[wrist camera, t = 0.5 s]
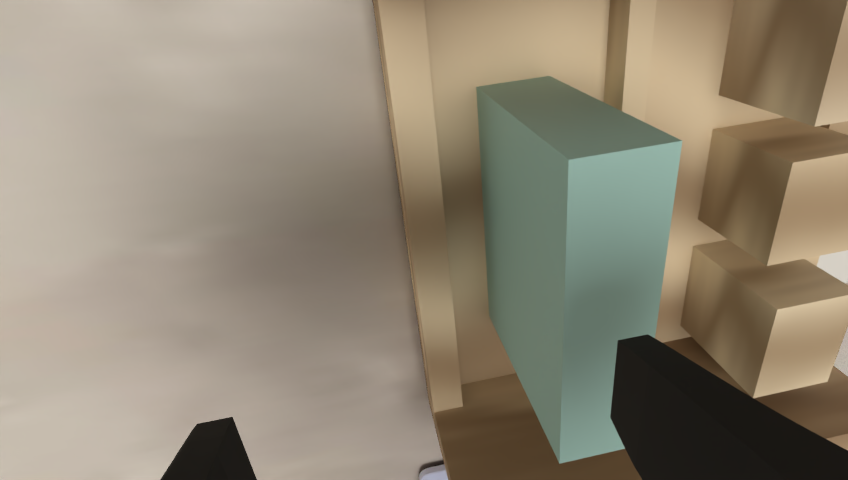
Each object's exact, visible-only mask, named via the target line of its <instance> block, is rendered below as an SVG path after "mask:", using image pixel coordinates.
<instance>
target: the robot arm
mask: <svg viewBox="0 0 848 480" xmlns="http://www.w3.org/2000/svg"><path fill="white" fill-rule="evenodd" d="M610 418H611V420H612V422H613V424H614V426H615V428H616V431H617V433H618V435H619V437H620V439H621V441H622V443H623V445H624V447H625V449H626V451H627V453H628V455H629V457H630V459H631V461H632V463H633V465H634V467H635V469H636V470H637V472H638V473H639V475H640V477H641V478H642V480H848V450H846V449H844V448H842V447H840V446H838V445H836V444H835V443H833V442H831V441H829V440H827V439H825V438H823V437H822V436H820V435H818V434H816V433H814V432H812V431H810V430H808V429H807V428H805V427H803V426H801V425H799V424H797V423H796V422H794V421H792V420H790V419H789V418H787V417H785V416H783V415H781V414H780V413H778V412H776V411H774V410H773V409H771V408H769V407H768V406H766V405H764V404H762V403H761V402H759V401H757V400H756V399H754V398H752V397H751V396H749V395H747V394H745V393H744V392H742V391H740V390H739V389H737V388H735V387H734V386H732V385H731V384H729V383H727V382H726V381H724V380H722V379H721V378H719V377H717V376H716V375H714V374H712V373H711V372H709V371H708V370H706V369H704V368H703V367H701V366H700V365H698V364H696V363H695V362H693V361H691V360H690V359H688V358H687V357H685V356H683V355H682V354H680V353H678V352H677V351H675V350H674V349H672V348H670V347H669V346H667V345H665V344H664V343H662V342H660V341H659V340H657V339H655V338H653V337H652V336H650V335H648V334H647V335H642V336H637V337H632V338H627V339H622V340H618V343H617V353H616V363H615V374H614V384H613V394H612V404H611V414H610ZM161 480H257V479H256V477H255V474H254V472H253V469H252V466H251V464H250V461H249V459H248V456H247V453H246V451H245V448H244V446H243V443H242V441H241V438H240V435H239V433H238V430H237V428H236V425H235V422H234V420H233V417H230V418H225V419H220V420H215V421H210V422H205V423H200V424H197V425H196V426H195V427H194V429H193V430H192V432H191V433H190V435H189V436H188V438H187V439H186V441H185V442H184V444H183V445H182V447H181V449H180V450H179V452H178V453H177V455H176V456H175V458H174V460H173V461H172V463H171V464H170V466H169V467H168V469H167V471H166V472H165V474H164V475H163V477H162V478H161ZM419 480H448V477H447V473H446V469H445V465H444V464H443V465H438V466H434V467H430V468H426V469H424V470H423V471H421V473H420V474H419Z"/></svg>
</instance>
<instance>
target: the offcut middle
mask: <svg viewBox="0 0 848 480" xmlns="http://www.w3.org/2000/svg"><path fill="white" fill-rule="evenodd" d="M698 220H700V221H701V222H703V223H704V224H706V225H707V226H708V227H710V228H711V229H713V230H714V231H716V232H717V233H719V234H720V235H722V236H723V237H725V238H726V239H728V240H729V241H731V242H732V243H734V244H735V245H737V246H738V247H739V248H741V249H742V250H744V251H745V252H747V253H748V254H750V255H751V256H753V257H754V258H756V259H757V260H759V261H760V262H762V263H763V264H765V265H766V266H770V265H775V264H780V263H785V262H790V261H795V260H800V259H805V258H811V257H816V256H821V255H826V254H831V253H836V252H841V251H846V250H848V135H846V134H843V133H839V132H836V131H833V130H830V129H827V128H824V127H821V126H816V127H814V126H811V125H808V124H805V123H802V122H799V121H796V120H793V119H790V118H786V117H783V118H777V119H771V120H765V121H759V122H752V123H746V124H740V125H734V126H728V127H722V128H716V129H713V131H712V137H711V143H710V149H709V155H708V161H707V167H706V173H705V179H704V185H703V191H702V197H701V203H700V209H699V215H698Z"/></svg>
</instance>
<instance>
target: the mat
mask: <svg viewBox="0 0 848 480" xmlns="http://www.w3.org/2000/svg"><path fill="white" fill-rule="evenodd" d="M817 267H819V268H820V269H822V270H824V271H825V272H827V273H828V274H830V275H832V276H833V277H835V278H837V279H838V280H840V281H842V282H843V283H846V282H848V250H846V251H841V252H836V253H831V254H826V255H821V256H820V257H819V260H818V263H817Z"/></svg>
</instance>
